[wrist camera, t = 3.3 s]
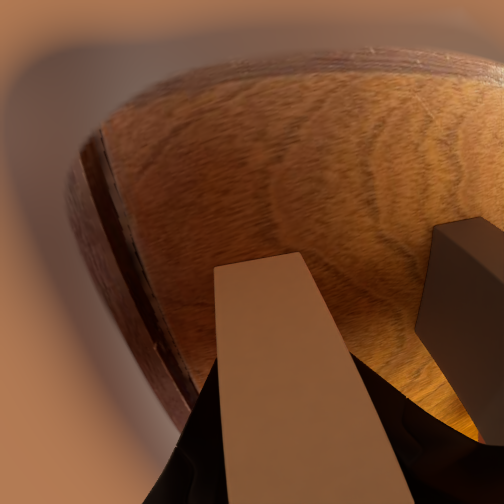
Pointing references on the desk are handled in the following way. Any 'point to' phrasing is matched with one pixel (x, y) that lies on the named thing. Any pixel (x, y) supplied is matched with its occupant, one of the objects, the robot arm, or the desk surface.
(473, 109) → the desk surface
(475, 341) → the gray rectangular block
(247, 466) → the cream book
